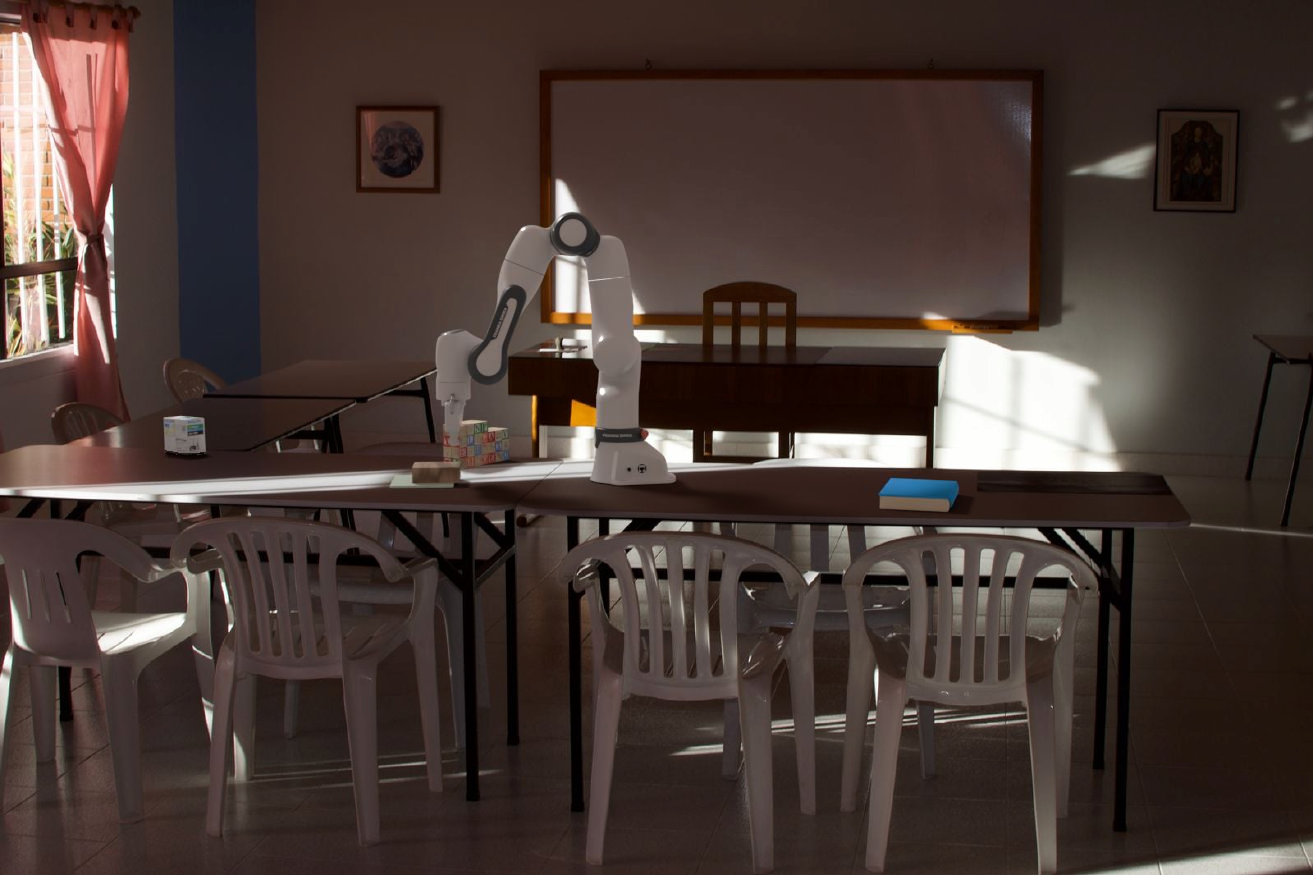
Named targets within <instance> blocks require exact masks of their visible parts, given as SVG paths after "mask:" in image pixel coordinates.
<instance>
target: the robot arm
mask: <svg viewBox="0 0 1313 875" xmlns="http://www.w3.org/2000/svg"><path fill="white" fill-rule="evenodd" d="M555 256H566V257H576V256H579V257H580V258H582V260H583V261H584V263H585V267H586V274H587V284H588V292H589V300H590V301H589V303H590V310H591V312H590V313H591V347H592V348H591V349H592V360H593V364H594V365H595V367H596V368H597V369H598V371H599V372H598V382H597V390H596V392H597V393H596V397H595V399H596V405H595V407H596V410H595V411H596V412H595V413H596V415H595V416H596V418H595V419H596V424H595V425H596V426H594V432H593V433H594V434H593V436H594V437H593V438H594V439H593V440H594V441H593V443H594V444H593V445H594V448H595V454H594V462H593V467H592V471H591V474H590V478H589V480H590V481H591V482H592V481H593V482H595V483H601V484H609V485H614V486H630V485H631V486H632V485H633V486H635V485H636V486H637V485H657V484H660V485H661V484H673V483H674V482H676V481H677V477H676V475H675V474H674V473H672V472H670V471H669V468H668V463H667V460H666V457H665V456H664V455H663V453H662V452H660V451H659V450H658V449H657V448H655V447H654V446H653V445H651V444H650V443H649V442H648V441H646V440H647V438H648V437H649V436H650V432H649V430H647V429H644V428H642V427H641V426H639V395H640V394H639V393H640V383H641V381H640V380H641V371H642V370H641V368H642V346H641V343H640V341H639V339H638V338H637V337H636V336H635V331H634V329H635V327H634V307H635V305H634V298H633V290H632V279H631V272H630V271H631V270H630V265H629V261H628V257H627V256H628V255H627V253H626V249H625V246H624V243H623V241H622V240H621V239H620V238H619V237H616V236H614V235H605V234H604V235H600V233H599V232H598V230H597V229H596V228H595V226H594V224H593V223H592V222H591V221H590V219H589V218H588V217H586V216H585V215H584V214H582V213H579V212H577V211H570V212H569V211H568V212H566V213H563V214H561V215H559V216H558V217H557V218H556V219H555V220H554V222H553V223H552V224H550V226H549V227H542V226H539V225H536V224H534V225H533V224H532V225H531V224H529V225H525V226H522V227H521V228H520V230H519V231H518V232H517V234H516V235H515V237H514V239H513V241H512V242H511V244H510V246H509V248H508V250H507V252H506V254H505V257H504V260H503V262H502V264H501V268H500V272H499V275H498V281H497V299H496V300H497V301H496V307H495V311H494V314H493V316H492V318H491V322H490V323H489V327H488V329H487V332H486V333H485V336H484V338H483V339H482V338H479V337H477V336H476V335H474V334H471V333H470V332H468V330H466V329H463V328H460V329H453V330H447V331H444V332H443V333H441V334H440V335H439V336H438V338H437V341H436V345H435V366H436V371H437V373H436V374H437V375H436V377H435V378H436V379H435V393H436V394H435V398H436V400H437V401H440V402H441V405H440V406H441V407H444V424H445V431H446V432H449V434H450V445H451V446H457V444H458V432H459V430H460V427H461V424H462V421H464V420H463V418H464V409H465V406H466V405H467V403H466V402H467V400H471V394H472V392H471V378H472V379H473V380H474V381H475V383H476V382H477V383H478V384H480V385H484V386H491V385H496V384H497V383H499V382H500V381H502V380H503V379H504V377H505V376H506V375H507V372H508V367H509V359H508V350H509V346H510V343H511V340H512V338H513V335H514V332H515V330H516V328H517V325H518V322H519V321H520V317H521V315H522V314H523V312H524V311H525V309H526V308H527V306H528V305H529V304H530V302H531V301H532V299H533V298H534V297H535V295H536V293H537V291H538V290H539V288H540V286H541V284H542V282H543V280H544V277H545V274H546V273H547V270H548V267H549V265H550V262H551V261H552V260H553V259H554V257H555Z"/></svg>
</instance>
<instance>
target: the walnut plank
mask: <svg viewBox="0 0 1313 875" xmlns="http://www.w3.org/2000/svg"><path fill="white" fill-rule="evenodd" d="M461 471H462V469H461V462H444V461H416V462H414V463H413V464H412V467H411V475H412V483H454V484H459V483H460V481H461V476H462V475H461V474H462V472H461Z"/></svg>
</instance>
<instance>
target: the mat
mask: <svg viewBox="0 0 1313 875" xmlns="http://www.w3.org/2000/svg"><path fill="white" fill-rule="evenodd" d="M454 485H455V483H412V474H395V475H394V477H393V478H392V481H391V482H390V485H389V489H427V488H428V489H443V488H444V489H446V488H449V489H450V488H451V489H452V488H454Z"/></svg>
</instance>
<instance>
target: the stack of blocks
mask: <svg viewBox="0 0 1313 875" xmlns="http://www.w3.org/2000/svg"><path fill="white" fill-rule="evenodd" d="M509 431H510V430H509V428H506V427H493V426H492V427H489V421H488V420H477V419H469V420H468V419H467V420H462V424H461V427H460V430H459V432H458V444H457V446H451V445H450V434H449V432H446V431H445V423H444V424H442V434H443V435H442V445H443V446H442V447H443V448H442V450H443V454H442V455H443V462H461V468H463V469H466V468H467V467H468V468H472V467H473V468H474V467H478V466H483V465H488V464H489V465H490V464H494V463H498V462H500V463H501V462H504V461H509V460H510V439H509V438H510V437H509V436H510V435H509ZM495 456H496V457H495ZM468 468H467V469H468Z"/></svg>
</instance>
